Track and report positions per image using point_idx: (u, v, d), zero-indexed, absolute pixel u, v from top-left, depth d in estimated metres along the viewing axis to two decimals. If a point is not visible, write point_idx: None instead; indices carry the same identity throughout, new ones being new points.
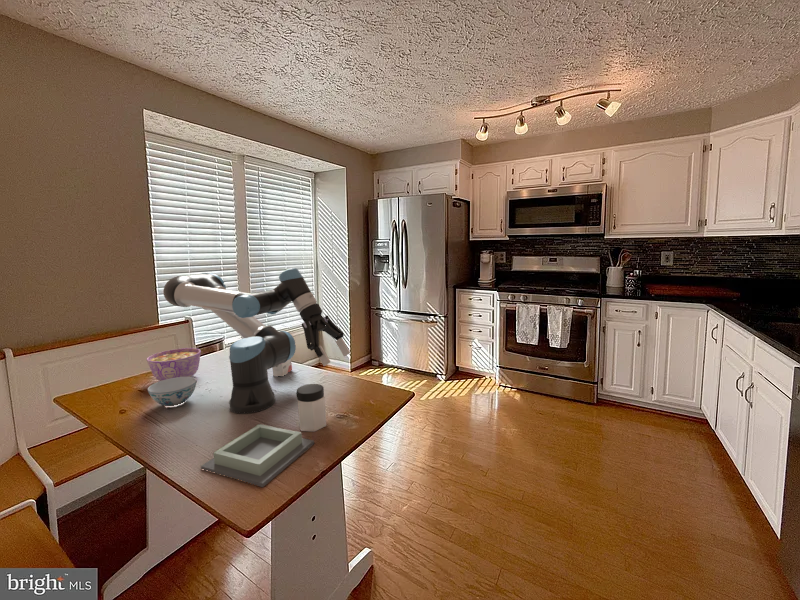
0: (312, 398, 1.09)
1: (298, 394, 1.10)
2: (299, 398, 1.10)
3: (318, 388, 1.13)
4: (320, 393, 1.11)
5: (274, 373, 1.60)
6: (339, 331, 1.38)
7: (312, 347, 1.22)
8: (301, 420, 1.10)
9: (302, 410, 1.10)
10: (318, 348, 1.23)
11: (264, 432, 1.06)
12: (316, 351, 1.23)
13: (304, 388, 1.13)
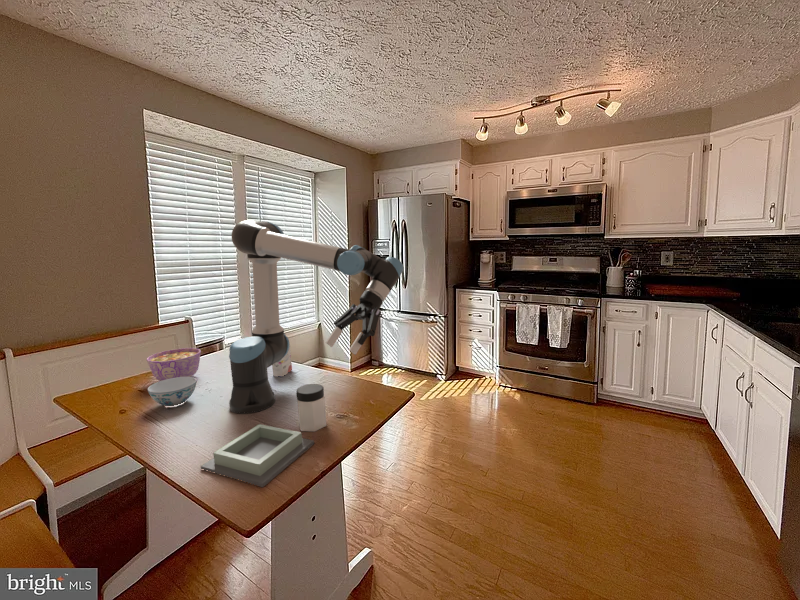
0: (312, 398, 1.09)
1: (298, 394, 1.10)
2: (299, 398, 1.10)
3: (318, 388, 1.13)
4: (320, 393, 1.11)
5: (274, 373, 1.60)
6: None
7: (369, 334, 1.14)
8: (301, 420, 1.10)
9: (302, 410, 1.10)
10: None
11: (264, 432, 1.06)
12: (364, 338, 1.14)
13: (304, 388, 1.13)
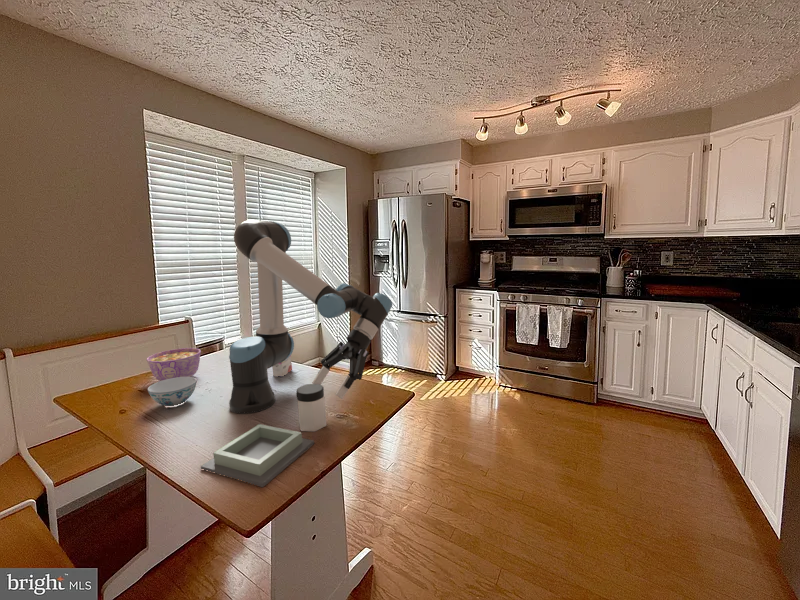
0: (312, 398, 1.09)
1: (298, 394, 1.10)
2: (299, 398, 1.10)
3: (318, 388, 1.13)
4: (320, 393, 1.11)
5: (274, 373, 1.60)
6: None
7: (356, 378, 1.11)
8: (301, 420, 1.10)
9: (302, 410, 1.10)
10: None
11: (264, 432, 1.06)
12: (350, 382, 1.11)
13: (304, 388, 1.13)
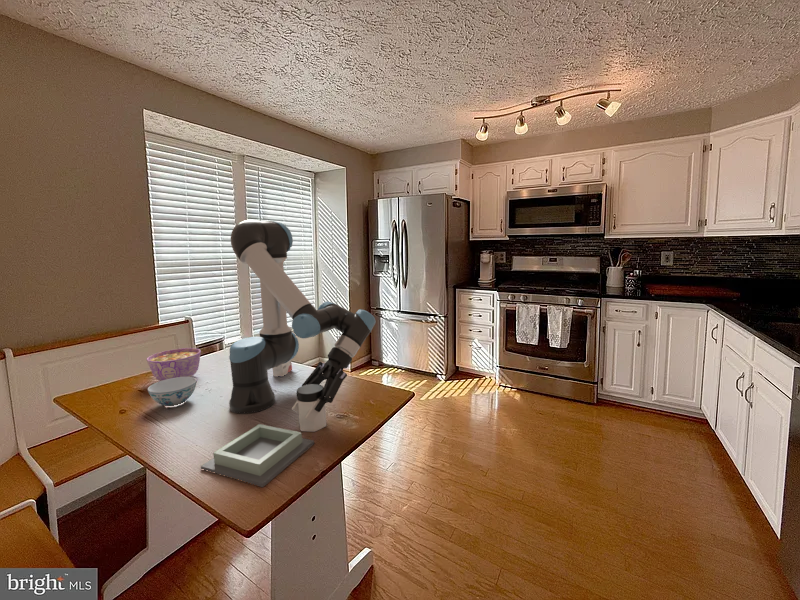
0: (312, 398, 1.09)
1: (298, 394, 1.10)
2: (299, 398, 1.10)
3: (318, 388, 1.12)
4: (320, 393, 1.11)
5: (274, 373, 1.60)
6: None
7: (326, 401, 1.09)
8: (301, 420, 1.10)
9: (302, 410, 1.10)
10: None
11: (264, 432, 1.06)
12: (321, 405, 1.09)
13: (304, 388, 1.13)
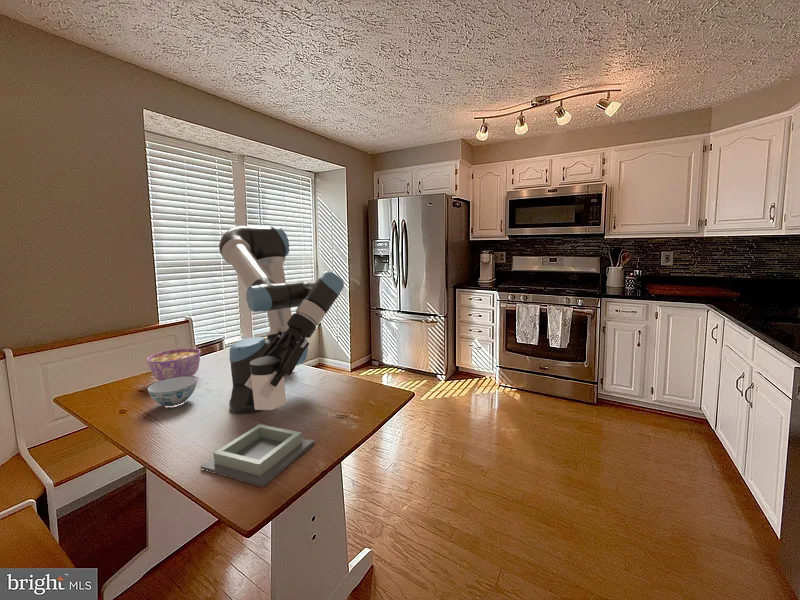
0: (267, 371, 0.93)
1: (251, 366, 0.93)
2: (252, 371, 0.93)
3: (275, 360, 0.96)
4: (277, 365, 0.95)
5: None
6: None
7: (284, 373, 0.93)
8: (255, 397, 0.94)
9: (256, 385, 0.93)
10: None
11: (264, 432, 1.06)
12: (278, 378, 0.93)
13: (259, 360, 0.96)
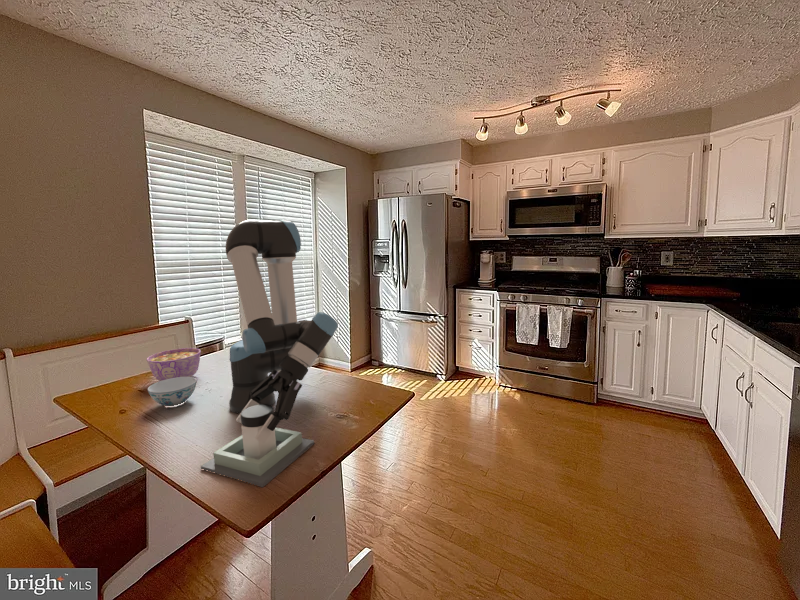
0: (257, 423, 0.93)
1: (241, 418, 0.93)
2: (243, 423, 0.93)
3: (266, 410, 0.96)
4: (268, 417, 0.94)
5: None
6: None
7: (281, 417, 0.91)
8: (245, 448, 0.94)
9: (246, 437, 0.93)
10: None
11: None
12: (275, 422, 0.91)
13: (250, 410, 0.96)
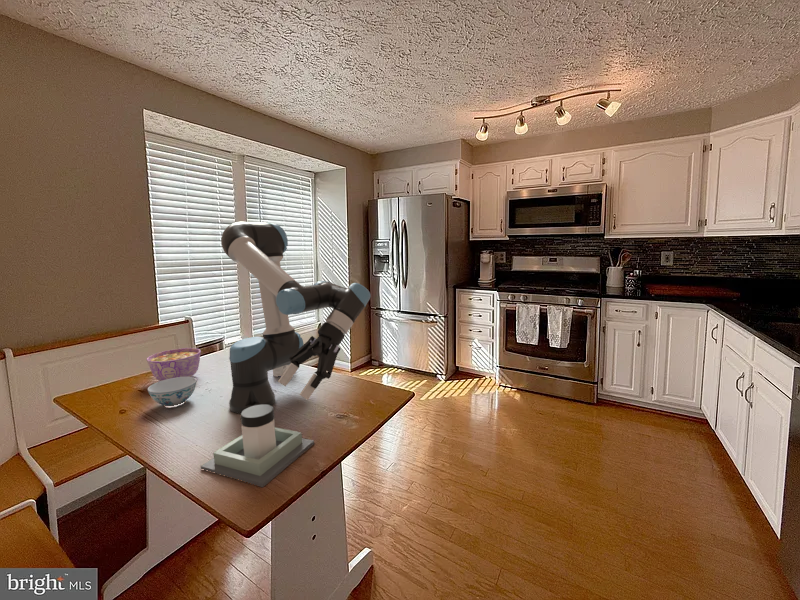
0: (257, 423, 0.93)
1: (241, 418, 0.93)
2: (242, 423, 0.93)
3: (266, 410, 0.96)
4: (268, 417, 0.94)
5: (274, 373, 1.60)
6: None
7: (324, 376, 0.99)
8: (245, 448, 0.94)
9: (246, 437, 0.93)
10: None
11: None
12: (318, 380, 0.99)
13: (250, 410, 0.96)
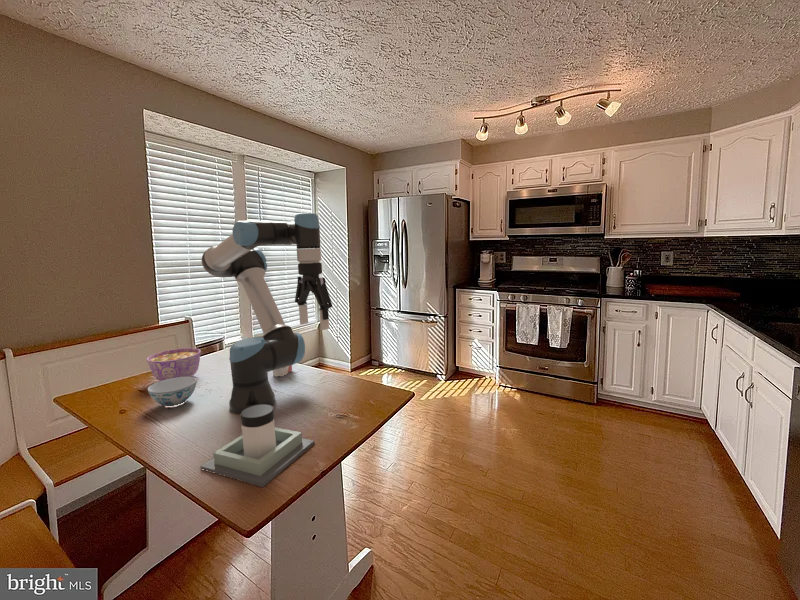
0: (257, 423, 0.93)
1: (241, 418, 0.93)
2: (243, 422, 0.93)
3: (266, 410, 0.96)
4: (268, 417, 0.94)
5: (274, 373, 1.60)
6: None
7: (327, 308, 1.14)
8: (245, 448, 0.94)
9: (246, 437, 0.93)
10: None
11: None
12: (326, 313, 1.15)
13: (250, 410, 0.96)
